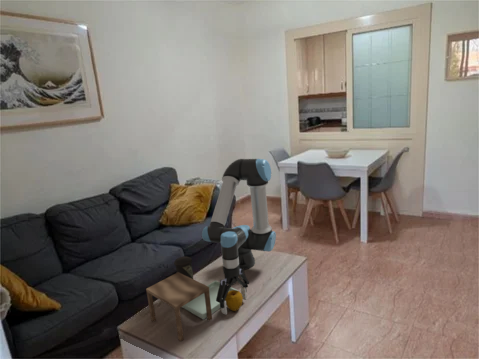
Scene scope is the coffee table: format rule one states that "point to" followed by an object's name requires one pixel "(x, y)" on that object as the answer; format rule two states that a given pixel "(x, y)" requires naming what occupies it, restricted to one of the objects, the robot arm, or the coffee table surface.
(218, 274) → the coffee table surface
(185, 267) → the container
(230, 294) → the apple
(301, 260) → the coffee table surface
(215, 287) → the tray
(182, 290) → the riser
